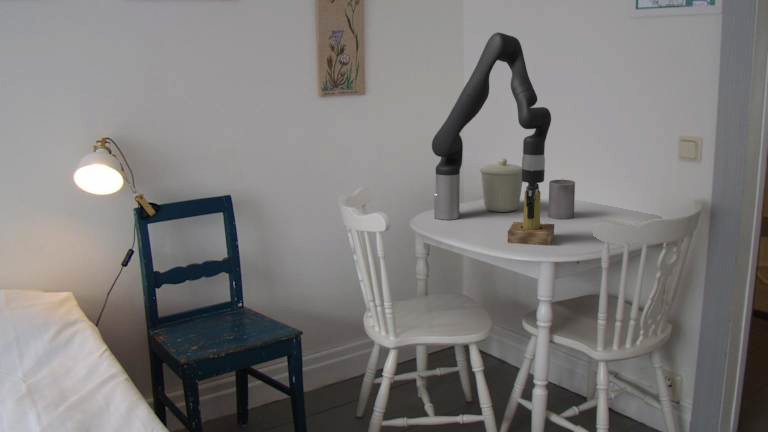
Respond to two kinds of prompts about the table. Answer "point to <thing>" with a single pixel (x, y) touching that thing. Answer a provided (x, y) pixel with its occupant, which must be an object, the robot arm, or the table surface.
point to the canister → (501, 186)
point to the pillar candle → (561, 199)
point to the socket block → (531, 234)
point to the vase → (535, 222)
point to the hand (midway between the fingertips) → (531, 216)
